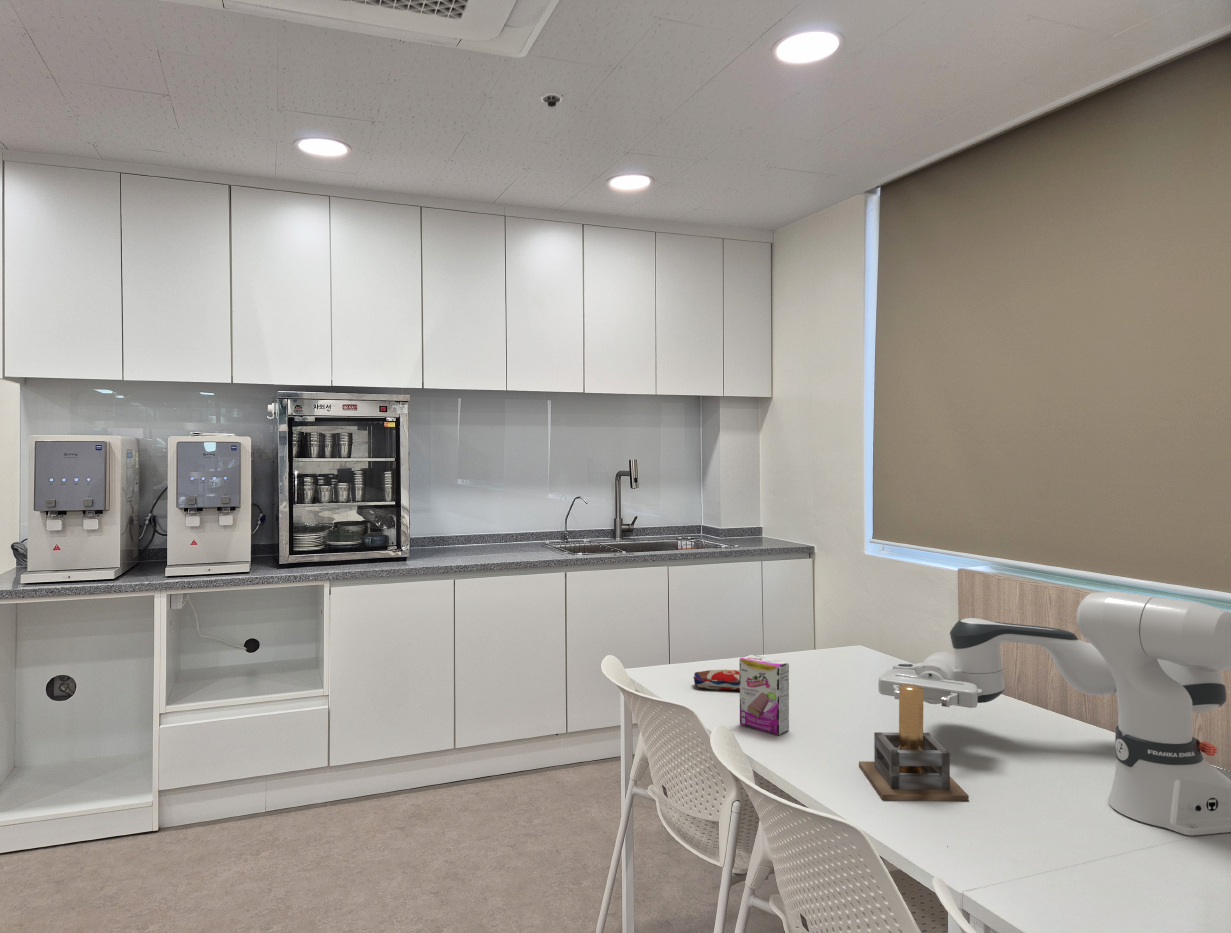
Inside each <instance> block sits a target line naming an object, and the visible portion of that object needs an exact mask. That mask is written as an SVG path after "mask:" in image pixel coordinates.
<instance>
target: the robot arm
mask: <svg viewBox="0 0 1231 933" xmlns="http://www.w3.org/2000/svg"><path fill="white" fill-rule="evenodd" d="M1075 615H1076V616H1075V617H1076V618H1075V620H1076V625H1077V627H1078V630H1079V632H1080V634H1081V635H1082V637H1083V638H1084V639H1085V640H1086V641H1088V642H1086V641H1083V640H1081V639H1079V638H1078V637H1077V636H1076V634H1075V633H1073V632H1071V631H1069V630H1066V629H1062V628H1061V629H1060V628H1055V627H1047V626H1038V625H1028V624H1019V623H1010V622H1009V623H1007V622H998V621H992V620H991V621H990V620H988V619H982V618H978V617H977V618H975V617H968V618H967V617H966V618H962V619H959V620H958V621H957V622H956V623H955V624H954V626H953V627H952V628H951V630H950V632H949V636H950V639H951V640H950V642H951V646H952V648H953V653H954V654H952V653H951V652H949V651H938V652H934V653H932V654H930V655H928V656H927V657H925V658H924V659H923V661H922V662H917V663H895V664H893V665H892V669H887V670H886V671H885V672H883V673H882V674H881V675H880V676H879V678H878V684H877V685H878V693H879V694H880V695H882V696H889V697H894V700H898V701H899V685H901V684H914V685H919V686H921V687H923V703H924V702H925V703H926V704H931V705H940V704H941V707H945V708H950V707H951V706H954V707H956V706H957V707H960V708H961V707H963V708H968V709H972V708H973V709H974V708H977V707H978V704H981V703H982V704H983V703H984V704H985V703H989V702H991V701H994V700H995V699H998V697H1000V696H1001V695H1002V694H1003V693H1004V691H1005V689H1006V687H1005V678H1004V669H1003V666H1002V657H1001V648H1000V645H1001V644H1002V643H1003V642H1007V643H1013V644H1014V643H1016V644H1026V645H1034V646H1040V647H1042V648H1044V649H1045V650H1046V652H1047V653H1048V654H1049V656H1050V658H1051V659H1052V660H1053V662H1054V664H1055V666H1056V668H1057V670H1058V672H1059V673H1060V675H1061V677H1062V678H1063V679H1064V680H1065V681H1066V682H1067V684H1069V686H1071V687H1072V688H1073V689H1074V690H1076V691H1078V692H1080V693H1082V694H1084V695H1091V696H1093V695H1094V696H1110V695H1112V696H1113V695H1116V698H1117V716H1118V717H1117V718H1118V720H1117V721H1118V722H1117V723H1118V724H1117V725H1116V727H1115V736H1114V737H1115V738H1114V743H1115V744H1114V746H1115V747H1114V748H1115V757H1116V763H1115V764H1116V765H1115V770H1114V771H1115V772H1114V778H1113V782H1112V786H1111V790H1110V793H1109V796H1108V797H1107V803H1108V804H1109V806H1110V807H1111V808H1112V809H1113V810H1115V811H1117V812H1118V813H1120V814H1121V815H1123V816H1126V817H1128V818H1130V819H1132V820H1135V821H1139V822H1141V823H1144V824H1149V825H1150V826H1151V825H1152V826H1156V827H1159V828H1165V829H1168V830H1171V831H1174V832H1176V833H1179V834H1182V835H1185V836H1192V837H1193V836H1200V835H1201V836H1202V835H1203V836H1204V835H1212V834H1221V833H1222V834H1225V833H1231V779H1230V778H1228V776H1226V775H1225V774H1224V773H1222V772H1221V771H1219V770H1218V768H1216V767H1214V766H1213V765H1211V764H1210V762H1208V761H1206V760H1205V759H1204V757H1203V754H1202V753H1204V754H1206V755H1207V756H1210V757H1215V756H1216V754H1217V753H1218V749H1217V747H1216V746H1215V745H1214V744H1212V743H1209V742H1208V741H1200V739H1198V738H1196V737H1195V736H1193V713H1198V714H1199V713H1206V712H1210V711H1214V710H1216V709H1217V708H1220V707H1222V706H1223V705H1224V704H1225V703H1226V702H1227V689H1226V688H1227V687H1226V685H1225V684H1223V680H1222V679H1223V678H1222V674H1221V673H1222V672H1227V671H1231V611H1229V610H1225V609H1222V608H1219V607H1215V606H1212V605H1210V604H1205V603H1201V602H1198V601H1193V600H1192V601H1191V600H1185V599H1184V600H1183V599H1177V598H1176V599H1175V598H1169V597H1161V596H1153V595H1147V594H1137V593H1131V592H1125V591H1098V592H1097V591H1096V592H1090V593H1088V595H1086V596H1085V597H1084V598H1083V599H1082V600H1081V601H1080V603H1079V605H1078V607H1077V609H1076V614H1075Z"/></svg>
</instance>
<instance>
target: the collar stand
mask: <svg viewBox="0 0 1231 933" xmlns="http://www.w3.org/2000/svg"><path fill="white" fill-rule="evenodd" d="M873 733H874V735H873V737H874V741H873V742H874V746H873V748H874V752H873V753H874V754H873V756H874V758H873V759H874V760H873V761H871V760H870V761H865V760H864V761H861V760H860V761H858V767H859V769H860V770H861V771H862V773H863V774H864V775H865V777H866V779H867V780H868V782H869V783H870V785H871V786H872V787H873V789H874V790H875V792H876V793H877V795H878V796H879V797H880V799H881V800H882V801H925V802H926V801H929V802H931V801H933V802H936V801H937V802H939V801H941V802H942V801H944V802H948V801H950V802H951V801H953V802H969V798H970V796H969V794H968V793H967V792H966V791H965V790H964V789H963V788H962V787H961V786H960V784H958V783H957V781H955V780H954V779H953V778H952V777H951V762H950V760H951V759H950V758H951V757H950V756H951V754H950V752H949V751H948V750H947V749H946V748H945V747H944V746H943V745H942V744H941V743H940V742H939V741H938V740H936V738H935V737H934V736H933V735H932V734H931V733H930V732H923V750H899V749H897V748H899V732H882V731H881V732H873ZM899 766H923V773H899Z"/></svg>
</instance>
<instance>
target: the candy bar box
mask: <svg viewBox="0 0 1231 933" xmlns="http://www.w3.org/2000/svg"><path fill="white" fill-rule="evenodd" d="M789 664H790V662H786V661H782V660H777V659H772V658H767V657H763V656H758V655H754V654H748V655H745V656H741V657H740V658H739V670H740V690H739V725H741V726H744V727H748V728H752V729H755V730H759V731H763V732H765V733H769V734H772V735H776V736H780V735H783V734H785V733H786V732H788V731H790V698H789V697H790V685H789V684H790V681H789V680H790V665H789Z"/></svg>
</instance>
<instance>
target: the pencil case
mask: <svg viewBox="0 0 1231 933" xmlns="http://www.w3.org/2000/svg"><path fill="white" fill-rule="evenodd" d="M693 675H694V676H693V677H692V678H693V682H694V685H695V686H696V687H698V688H700V689H707V690H708V689H709V690H716V691H717V690H719V691H720V690H726V691H732V690H733V691H734V690H739V691H740V669H710V670H703V671H696V672H694V673H693Z"/></svg>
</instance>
